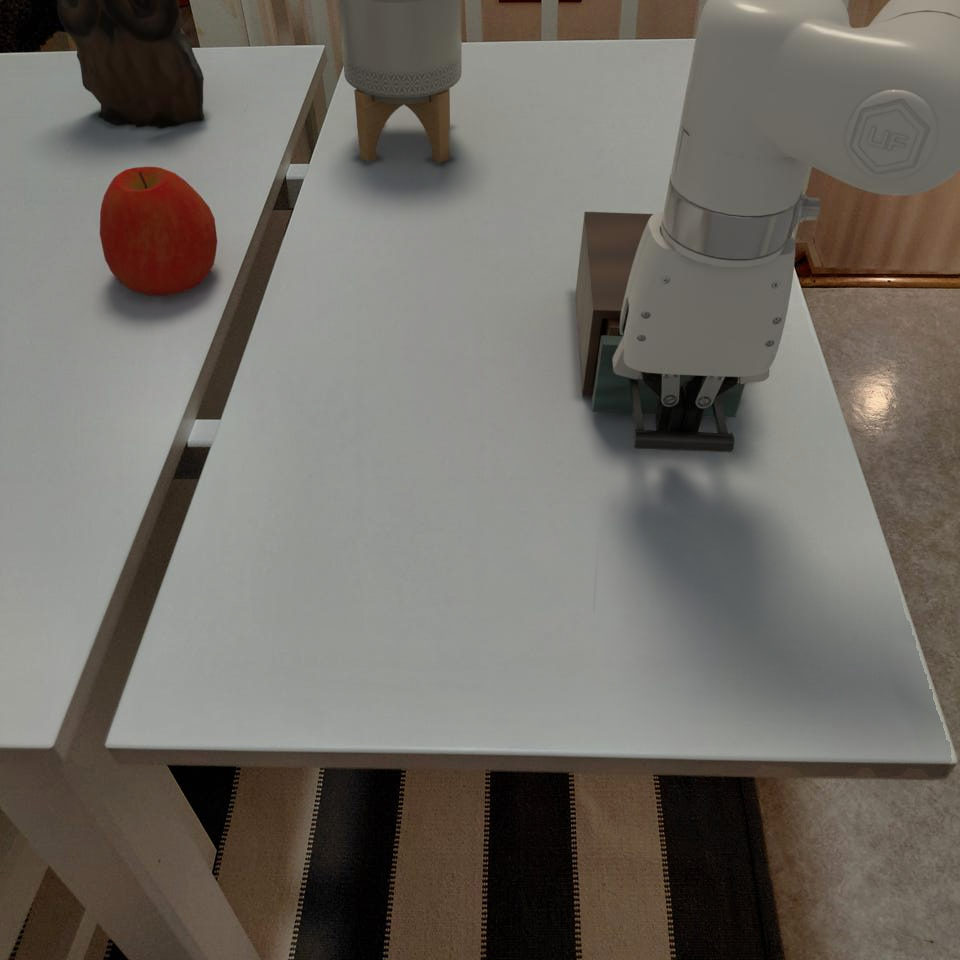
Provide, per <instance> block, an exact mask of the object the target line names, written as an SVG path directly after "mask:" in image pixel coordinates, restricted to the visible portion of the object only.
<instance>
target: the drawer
mask: <svg viewBox="0 0 960 960" xmlns="http://www.w3.org/2000/svg"><path fill="white" fill-rule="evenodd" d="M619 327H620V319H603V318H602V325H601V332H600V339H599V346H598V354H597V361H598V362H597V369H596V376H595V383H594V390H593V396H592V398H591V410H592V411H591V412H592V413H597V414H598V413H601V414H628V415H632V418H633V427H634V430H633V432H632V440H631V441H632V443H631V444H632V449H634V450H645V451H647V450H649V451H672V452H673V451H674V452H675V451H677V452H680V451H681V452H699V453H700V452H702V453H704V452H705V453H728V454H731V453H733V451H734V449H735V434H734V433H733V432H729V431H728V430H729V429H728V426H727V421H726V418H733V419H734V418H736V416H737V412H738V410H739V407H740V404H741V403H740V402H741V399H742V396H743V393H744V389H745V386H746V384H740V383H737V384H736V385H735V386H734V387H732V388H730V389H728V390H727V391H725V392H723V393H722V394H720V395H718V396H717V397H715V399H714V401H713V403H712V405H711V406H709V407H707V408H704V411H703V415H702V417H707V418H708V417H709V418H714V422H715V428H716V432H715V431H714V432H713V431H698V432H689V431H662V430H656V429H645V421H644V415H651V416H652V415H654V416H655V414H656V410H657V405H658V400H659V396H658V395H657V394H656V393H655V392H654V391H653V390H652V389H651V388H650V387H649V386H648V385H647V384H646V383H645V382H644V381H643V380H641V379H638V380H636V379H632V378H628V377H624V376H620V375H617V374H615V373H614V371H613V361H612V359H613V356H614V354H615V352H616V350H617V348H618V346H619V343H620V341H621V339H622V337H623V335H620V328H619ZM690 380H691V375H680V387H681V385H684V382H685V381H690Z"/></svg>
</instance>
